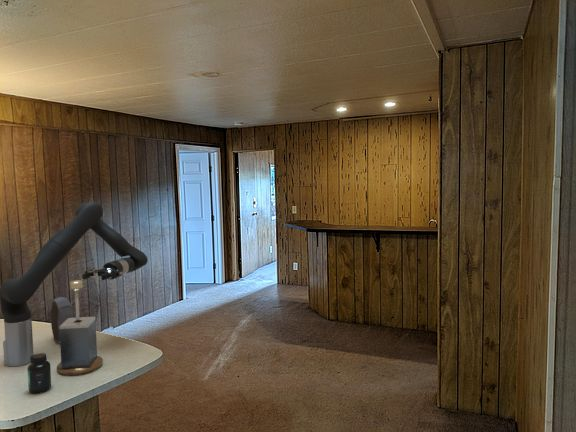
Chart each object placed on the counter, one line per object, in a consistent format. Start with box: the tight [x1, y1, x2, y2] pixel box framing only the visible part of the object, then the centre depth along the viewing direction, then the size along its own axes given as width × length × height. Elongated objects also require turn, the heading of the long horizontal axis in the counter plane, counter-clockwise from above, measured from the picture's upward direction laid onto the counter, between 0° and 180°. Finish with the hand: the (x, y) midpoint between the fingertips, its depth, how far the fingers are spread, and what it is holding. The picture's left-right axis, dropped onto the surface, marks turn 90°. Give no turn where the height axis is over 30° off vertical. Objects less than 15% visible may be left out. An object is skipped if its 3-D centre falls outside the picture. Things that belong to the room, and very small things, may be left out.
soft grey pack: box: [50, 296, 76, 343], centre depth 197 cm, size 15×8×20 cm, turn 42°
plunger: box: [69, 279, 84, 322], centre depth 167 cm, size 7×7×22 cm
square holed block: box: [56, 316, 104, 377], centre depth 169 cm, size 16×16×18 cm
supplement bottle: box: [27, 352, 52, 395], centre depth 151 cm, size 7×7×12 cm
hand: (92, 277), depth 176 cm, fingers open, 8 cm apart
